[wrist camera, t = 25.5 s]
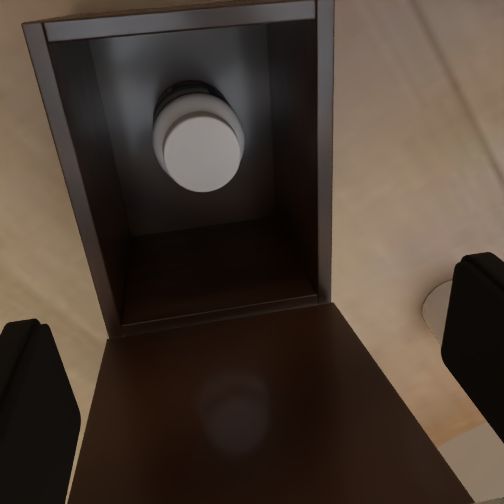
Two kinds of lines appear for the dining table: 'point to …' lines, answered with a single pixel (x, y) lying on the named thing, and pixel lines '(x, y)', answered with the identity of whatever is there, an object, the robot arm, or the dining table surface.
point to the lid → (254, 420)
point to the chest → (171, 193)
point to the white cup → (437, 309)
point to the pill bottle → (197, 136)
